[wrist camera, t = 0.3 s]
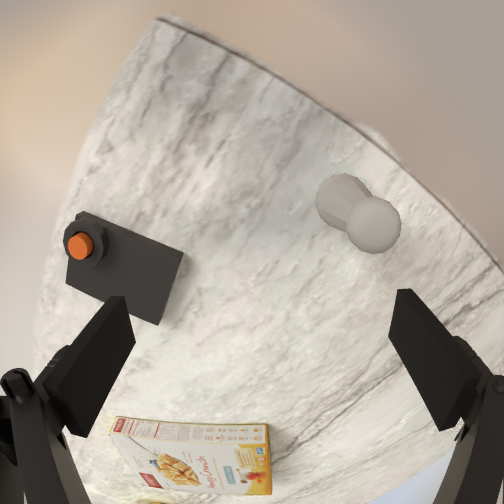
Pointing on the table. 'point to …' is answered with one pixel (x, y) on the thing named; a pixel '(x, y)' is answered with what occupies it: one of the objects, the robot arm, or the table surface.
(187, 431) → the cereal box
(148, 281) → the scale
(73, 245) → the button
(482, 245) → the table surface
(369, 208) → the salt shaker
